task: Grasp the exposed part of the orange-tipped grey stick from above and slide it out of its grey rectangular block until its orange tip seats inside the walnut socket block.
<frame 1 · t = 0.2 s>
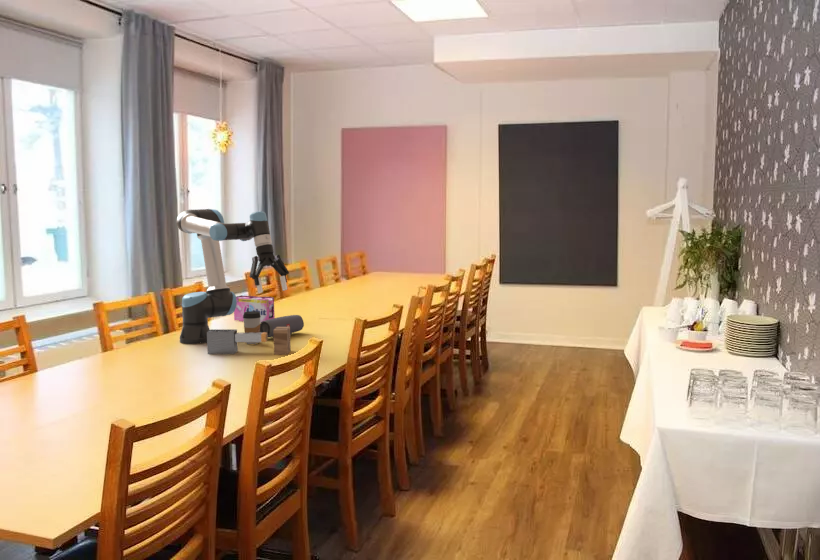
hand: (273, 291, 325), 28 cm above the table, tool tilted 15°, fingers open, 13 cm apart
gum box: (254, 321, 408), on the table
coffee cup: (252, 343, 346), on the table
orange-tipped grey stick: (238, 337, 325), point 7 cm above the table, slide at 0.0 cm
grey rectangular block: (222, 352, 326), on the table
bluetooth speaker: (282, 336, 363), on the table
socket: (282, 352, 326), on the table
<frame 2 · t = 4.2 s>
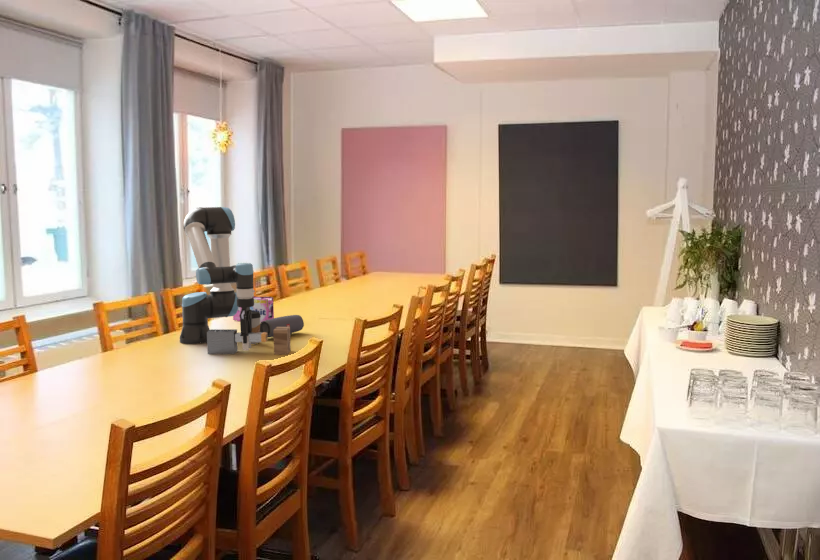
hand: (246, 349, 326), 2 cm above the table, tool pointing down, fingers closed on orange-tipped grey stick, 4 cm apart
orange-tipped grey stick: (238, 337, 325), point 7 cm above the table, slide at 0.0 cm, touching gripper
everything else where it was.
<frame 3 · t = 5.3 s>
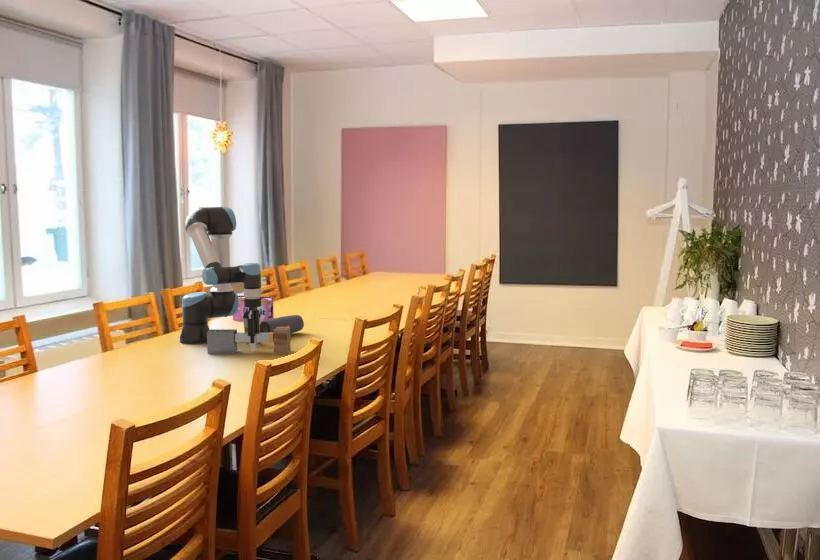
hand: (254, 349, 326), 2 cm above the table, tool pointing down, fingers closed on orange-tipped grey stick, 4 cm apart
orange-tipped grey stick: (246, 337, 325), point 7 cm above the table, slide at 3.3 cm, touching gripper
everything else where it was.
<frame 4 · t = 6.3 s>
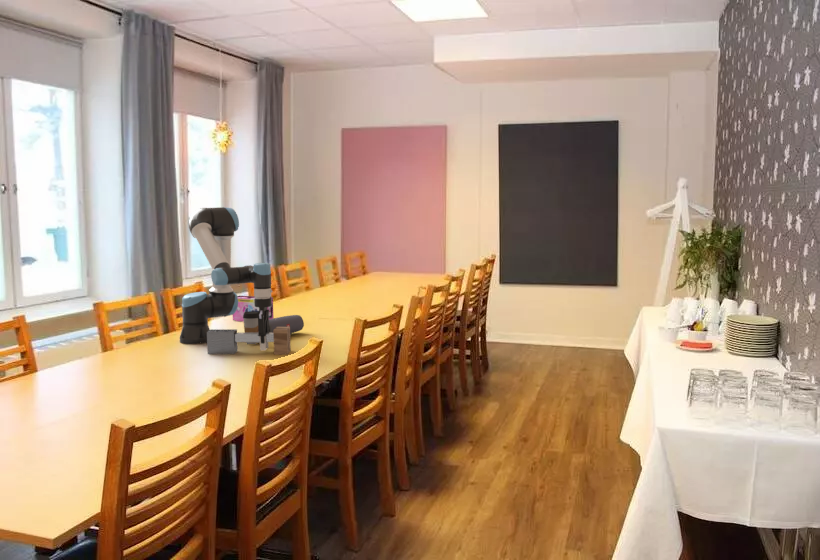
hand: (264, 349, 326), 2 cm above the table, tool pointing down, fingers closed on orange-tipped grey stick, 4 cm apart
orange-tipped grey stick: (256, 337, 325), point 7 cm above the table, slide at 7.8 cm, touching gripper
everything else where it was.
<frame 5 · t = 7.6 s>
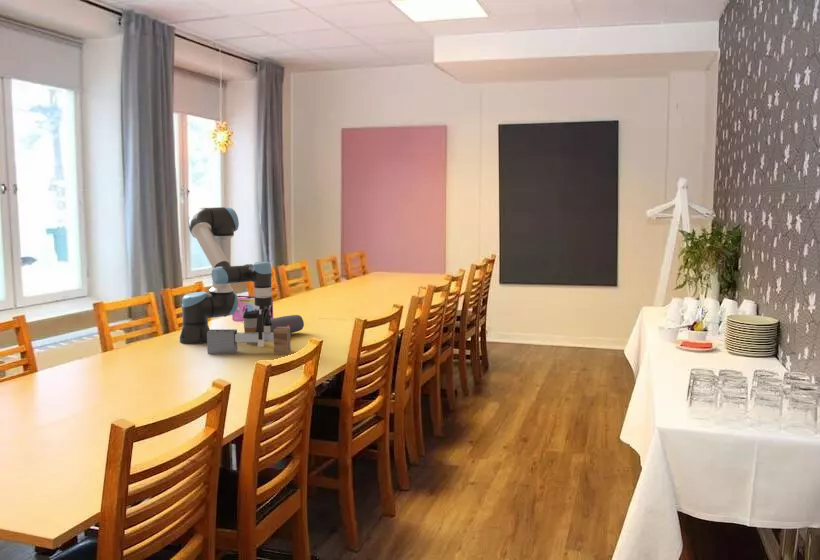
hand: (264, 343, 326), 4 cm above the table, tool pointing down, fingers open, 13 cm apart
orange-tipped grey stick: (256, 337, 325), point 7 cm above the table, slide at 8.0 cm
everything else where it was.
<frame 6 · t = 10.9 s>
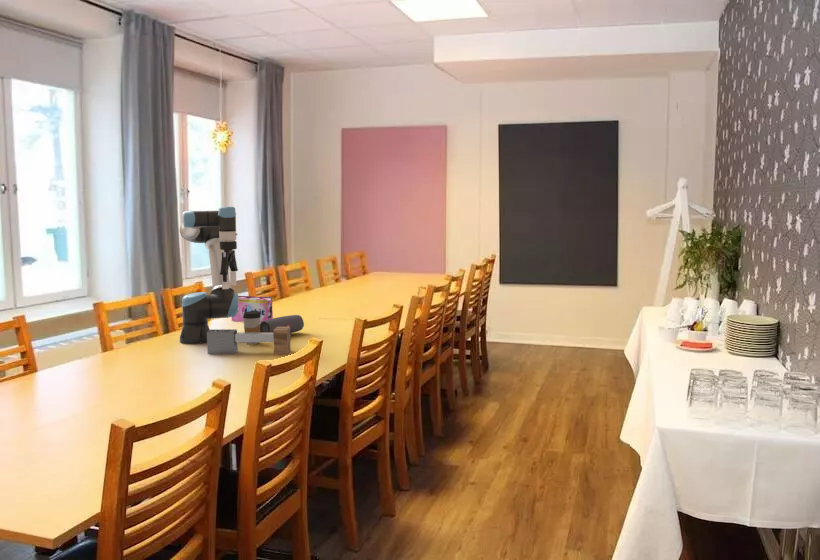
hand: (229, 287, 331), 29 cm above the table, tool pointing down, fingers open, 13 cm apart
at the end: orange-tipped grey stick slide at 8.0 cm; the gripper is holding nothing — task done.
